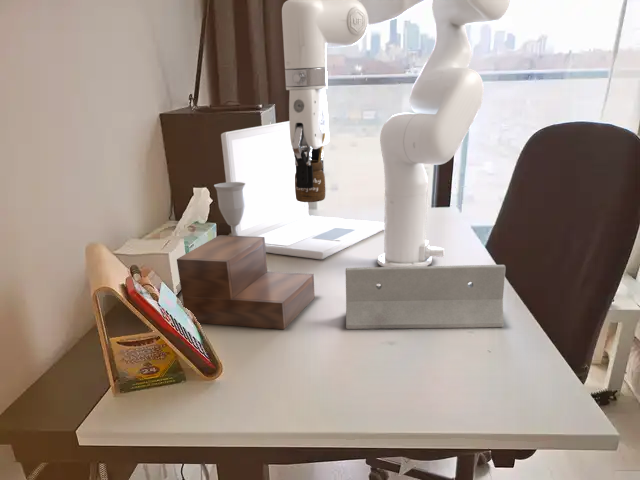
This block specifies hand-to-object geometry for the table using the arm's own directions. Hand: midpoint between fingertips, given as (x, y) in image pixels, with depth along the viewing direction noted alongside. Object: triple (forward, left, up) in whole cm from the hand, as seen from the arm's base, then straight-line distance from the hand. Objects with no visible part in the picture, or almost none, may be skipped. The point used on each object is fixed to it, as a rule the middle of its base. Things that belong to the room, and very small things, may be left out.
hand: (310, 183), depth 126 cm
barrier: (-25, +14, -22) cm, 36 cm away
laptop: (+15, -42, -22) cm, 50 cm away
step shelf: (+9, +14, -21) cm, 27 cm away
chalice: (+26, -17, -22) cm, 38 cm away
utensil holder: (0, 0, -3) cm, 3 cm away
